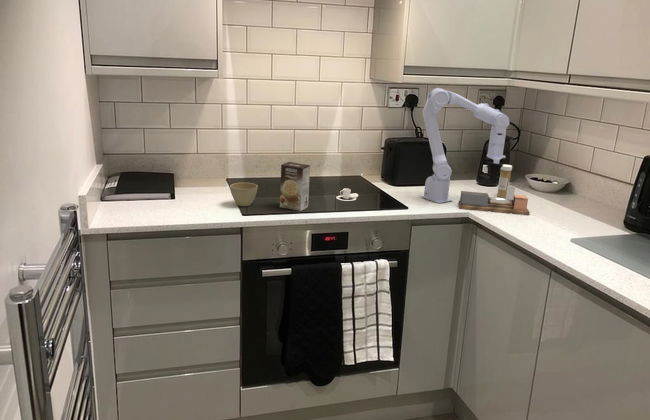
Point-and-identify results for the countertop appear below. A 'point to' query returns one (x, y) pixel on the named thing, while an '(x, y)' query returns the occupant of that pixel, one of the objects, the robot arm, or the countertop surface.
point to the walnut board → (495, 209)
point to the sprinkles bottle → (504, 180)
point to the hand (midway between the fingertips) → (491, 178)
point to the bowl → (243, 193)
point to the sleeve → (474, 199)
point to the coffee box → (294, 186)
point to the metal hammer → (504, 201)
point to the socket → (520, 202)
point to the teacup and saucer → (347, 195)
